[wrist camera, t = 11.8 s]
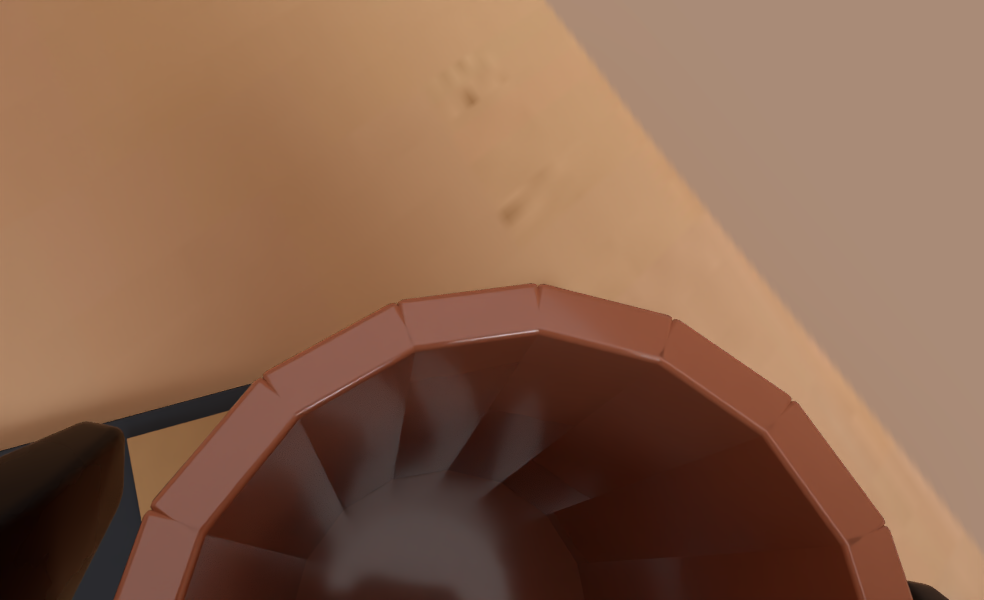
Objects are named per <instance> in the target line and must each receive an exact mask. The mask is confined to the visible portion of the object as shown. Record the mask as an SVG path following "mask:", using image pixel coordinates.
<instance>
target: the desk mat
mask: <svg viewBox="0 0 984 600" xmlns="http://www.w3.org/2000/svg"><path fill="white" fill-rule="evenodd" d="M250 385H251V384H248V385H244V386H241V387H237V388H233V389H230V390H226V391H222V392H218V393H215V394H211V395H207V396H203V397H200V398H196V399H192V400H189V401H185V402H181V403H177V404H174V405H170V406H166V407H162V408H159V409H155V410H151V411H147V412H144V413H140V414H136V415H133V416H129V417H125V418H121V419H118V420H114V421H110V422H106V423H103V424H104V425H109V426H114V427H118V428H120V429H121V430H122V431H123V433H124V437H125V458H124V487H123V494H122V498H121V501H120V504H119V507H118V509H117V511H116V513H115V515H114V517H113V519H112V521H111V523H110V525H109V527H108V529H107V531H106V533H105V535H104V537H103V539H102V541H101V543H100V545H99V547H98V549H97V551H96V553H95V555H94V557H93V559H92V561H91V563H90V565H89V567H88V569H87V571H86V572H85V574H84V576H83V578H82V580H81V582H80V584H79V586H78V588H77V590H76V592H75V594H74V596H73V598H72V600H113V599H114V596H115V593H116V590H117V588H118V585H119V582H120V579H121V577H122V574H123V571H124V568H125V566H126V563H127V560H128V557H129V555H130V552H131V549H132V546H133V544H134V541H135V538H136V535H137V533H138V530H139V527H140V524H141V522H142V519H143V516H144V515H145V513H146V512H147V511H148V510H152V509H151V507H150V506H151V503H152V500H153V499H154V498H155V497H156V496H157V495H158V493H159V492H160V491H161V490H162V489H163V488H164V486H165V485H166V484H167V483H168V482H169V481H170V479H171V478H172V477H173V476H174V475H175V473H176V472H177V471H178V470H179V469H180V468H181V466H182V465H183V464H184V463H185V462H186V461H187V459H188V458H189V457H190V456H191V455H192V453H193V452H194V451H195V450H196V449H197V448H198V446H199V445H200V444H201V443H202V442H203V441H204V439H205V438H206V437H207V436H208V435H209V434H210V432H211V431H212V430H213V429H214V428H215V426H216V425H217V424H218V423H219V422H220V421H221V419H222V418H223V417H224V416H225V415H226V414H227V412H228V411H229V410H230V409H231V408H232V406H233V405H234V404H235V403H236V402H237V401H238V399H239V398H240V397H241V396H242V395H243V394H244V392H245V391H246V390H247V389H248V388H249V387H250ZM32 443H34V442H32ZM29 444H31V443H28V444H24V445H21V446H17V447H13V448H10V449H6V450H2V451H0V457H1V456H3V455H6V454H8V453H10V452H13V451H15V450H17V449H20V448H22V447H24V446H27V445H29Z"/></svg>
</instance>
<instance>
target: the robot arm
mask: <svg viewBox="0 0 984 600" xmlns="http://www.w3.org/2000/svg"><path fill="white" fill-rule="evenodd" d="M124 458H125V437H124V433H123V431H122V430H121V429H120V428H118V427H114V426H109V425H104V424H99V423H94V422H82V423H79V424H76V425H74V426H71V427H69V428H67V429H64V430H62V431H59V432H57V433H55V434H52V435H50V436H48V437H45V438H43V439H41V440H38V441H36V442H34V443H31V444H29V445H27V446H24V447H22V448H20V449H17V450H15V451H13V452H10V453H8V454H6V455H3V456H1V457H0V600H72V598H73V596H74V594H75V592H76V590H77V588H78V586H79V584H80V582H81V580H82V578H83V576H84V574H85V572H86V571H87V569H88V567H89V565H90V563H91V561H92V559H93V557H94V555H95V553H96V551H97V549H98V547H99V545H100V543H101V541H102V539H103V537H104V535H105V533H106V531H107V529H108V527H109V525H110V523H111V521H112V519H113V517H114V515H115V513H116V511H117V509H118V507H119V504H120V501H121V498H122V494H123V487H124ZM907 583H908V586H909V589H910V592H911V595H912V598H913V600H949V599H947V598H946V597H945V596H943V595H942V594H941V593H940V592H938V591H937V590H936V589H934V588H933V587H931V586H929V585H926V584H922V583H917V582H912V581H907Z"/></svg>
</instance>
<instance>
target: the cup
mask: <svg viewBox="0 0 984 600" xmlns="http://www.w3.org/2000/svg"><path fill="white" fill-rule="evenodd" d="M150 507H151V509H152V510H148V511H147V512H146V513H145V515H144V516H143V519H142V522H141V524H140V527H139V530H138V533H137V535H136V538H135V541H134V544H133V546H132V549H131V552H130V555H129V557H128V560H127V563H126V566H125V568H124V571H123V574H122V577H121V579H120V582H119V585H118V588H117V590H116V593H115V596H114V599H113V600H913V598H912V595H911V592H910V589H909V586H908V583H907V580H906V577H905V574H904V571H903V568H902V565H901V562H900V559H899V556H898V553H897V550H896V547H895V544H894V541H893V538H892V535H891V532H890V530H889V528H888V527H886V526H884V524H885V521H884V518H883V517H882V516H881V514H880V513H879V512H878V510H877V509H876V508H875V506H874V505H873V504H872V502H871V501H870V499H869V498H868V497H867V495H866V494H865V493H864V491H863V490H862V489H861V487H860V486H859V485H858V483H857V482H856V481H855V479H854V478H853V477H852V475H851V474H850V473H849V471H848V470H847V469H846V467H845V466H844V464H843V463H842V462H841V460H840V459H839V458H838V456H837V455H836V454H835V452H834V451H833V450H832V448H831V447H830V446H829V444H828V443H827V442H826V440H825V439H824V438H823V436H822V435H821V434H820V432H819V431H818V429H817V428H816V427H815V425H814V424H813V423H812V421H811V420H810V419H809V417H808V416H807V415H806V413H805V412H804V411H803V409H802V408H801V407H800V405H799V404H798V403H797V402H795V401H791V397H790V396H789V395H788V394H787V393H785V392H784V391H782V390H781V389H779V388H778V387H776V386H775V385H773V384H772V383H770V382H769V381H768V380H766V379H765V378H763V377H762V376H760V375H759V374H757V373H756V372H754V371H753V370H751V369H750V368H749V367H747V366H746V365H744V364H743V363H741V362H740V361H738V360H737V359H735V358H734V357H732V356H731V355H730V354H728V353H727V352H725V351H724V350H722V349H721V348H719V347H718V346H716V345H715V344H713V343H712V342H711V341H709V340H708V339H706V338H705V337H703V336H702V335H700V334H699V333H697V332H696V331H694V330H693V329H692V328H690V327H689V326H687V325H686V324H684V323H683V322H681V321H680V320H677V319H674V320H672V317H670V316H669V315H665V314H661V313H657V312H653V311H649V310H645V309H641V308H637V307H633V306H629V305H625V304H621V303H617V302H613V301H609V300H605V299H601V298H597V297H593V296H589V295H585V294H581V293H577V292H573V291H569V290H565V289H561V288H557V287H553V286H549V285H545V284H540V285H539V286H538V287H537V285H536V284H532V283H530V284H522V285H514V286H506V287H498V288H491V289H483V290H475V291H467V292H459V293H451V294H443V295H435V296H427V297H419V298H412V299H404V300H401V301H399V302H398V303H397V305H396V304H395V303H391V304H388V305H386V306H384V307H383V308H381V309H379V310H377V311H375V312H373V313H372V314H370V315H368V316H366V317H364V318H362V319H361V320H359V321H357V322H355V323H353V324H351V325H350V326H348V327H346V328H344V329H342V330H340V331H339V332H337V333H335V334H333V335H331V336H329V337H328V338H326V339H324V340H322V341H320V342H318V343H317V344H315V345H313V346H311V347H309V348H308V349H306V350H304V351H302V352H300V353H298V354H297V355H295V356H293V357H291V358H289V359H287V360H286V361H284V362H282V363H280V364H278V365H276V366H275V367H273V368H271V369H269V370H267V371H266V372H265V373H264V374H263V379H262V378H259V379H257V380H255V381H254V382H253V383H252V384H251V385H250V387H249V388H248V389H247V390H246V391H245V392H244V394H243V395H242V396H241V397H240V398H239V399H238V401H237V402H236V403H235V404H234V405H233V406H232V408H231V409H230V410H229V411H228V412H227V414H226V415H225V416H224V417H223V418H222V419H221V421H220V422H219V423H218V424H217V425H216V426H215V428H214V429H213V430H212V431H211V432H210V434H209V435H208V436H207V437H206V438H205V439H204V441H203V442H202V443H201V444H200V445H199V446H198V448H197V449H196V450H195V451H194V452H193V453H192V455H191V456H190V457H189V458H188V459H187V461H186V462H185V463H184V464H183V465H182V466H181V468H180V469H179V470H178V471H177V472H176V473H175V475H174V476H173V477H172V478H171V479H170V481H169V482H168V483H167V484H166V485H165V486H164V488H163V489H162V490H161V491H160V492H159V493H158V495H157V496H156V497H155V498H154V499H153V500H152V503H151V506H150Z"/></svg>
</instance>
